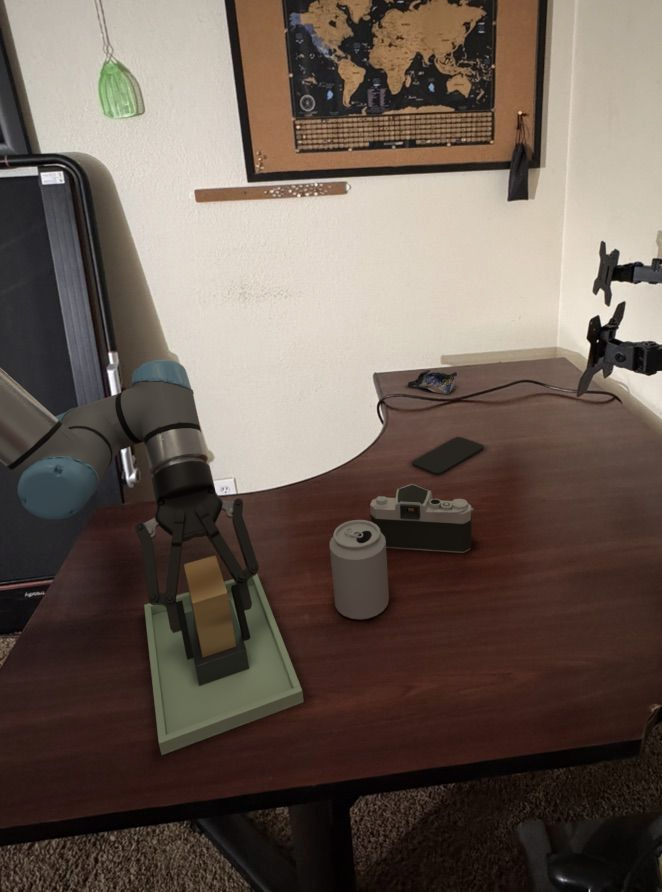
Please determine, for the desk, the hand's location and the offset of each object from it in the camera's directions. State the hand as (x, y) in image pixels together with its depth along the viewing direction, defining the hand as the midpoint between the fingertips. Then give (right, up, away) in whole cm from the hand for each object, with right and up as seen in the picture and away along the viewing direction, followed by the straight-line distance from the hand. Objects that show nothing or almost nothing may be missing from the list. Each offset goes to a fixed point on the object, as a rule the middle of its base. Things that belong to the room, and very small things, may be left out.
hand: (218, 648), depth 75 cm
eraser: (-1, -2, +4) cm, 5 cm away
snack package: (+32, +30, +87) cm, 98 cm away
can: (+17, +1, +12) cm, 20 cm away
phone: (+33, +17, +51) cm, 63 cm away
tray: (-1, -3, +4) cm, 5 cm away
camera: (+26, +7, +26) cm, 37 cm away
